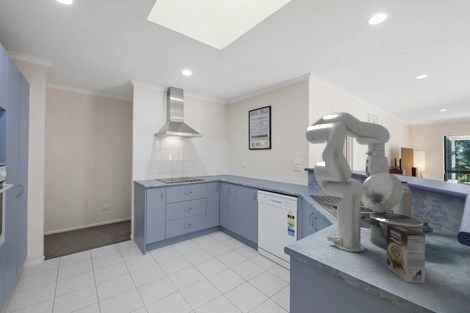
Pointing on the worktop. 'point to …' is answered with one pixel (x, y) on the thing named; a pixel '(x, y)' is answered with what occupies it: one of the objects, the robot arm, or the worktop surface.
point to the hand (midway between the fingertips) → (376, 187)
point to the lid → (381, 192)
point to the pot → (384, 219)
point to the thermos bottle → (404, 202)
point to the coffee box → (406, 253)
